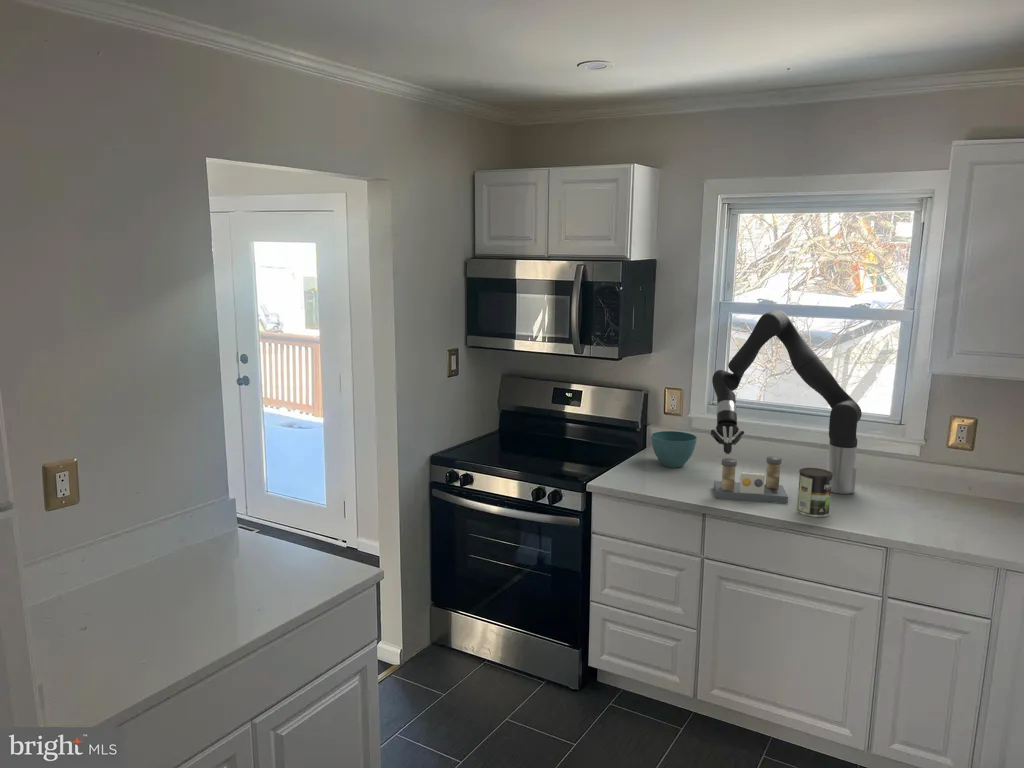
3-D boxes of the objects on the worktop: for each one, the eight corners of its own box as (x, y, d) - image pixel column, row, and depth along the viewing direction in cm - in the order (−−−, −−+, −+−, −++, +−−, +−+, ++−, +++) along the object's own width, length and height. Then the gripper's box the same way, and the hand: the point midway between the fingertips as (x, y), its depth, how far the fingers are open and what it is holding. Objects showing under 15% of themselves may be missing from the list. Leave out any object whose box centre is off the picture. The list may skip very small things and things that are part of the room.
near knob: (778, 485, 268) (780, 456, 266) (780, 489, 263) (782, 460, 261) (763, 483, 269) (765, 455, 268) (765, 488, 264) (767, 459, 262)
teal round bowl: (641, 461, 307) (642, 433, 305) (676, 456, 315) (678, 428, 312) (667, 473, 291) (669, 443, 289) (704, 468, 298) (706, 438, 296)
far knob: (734, 487, 265) (736, 458, 263) (735, 491, 260) (737, 462, 258) (719, 486, 266) (721, 457, 264) (720, 490, 261) (722, 461, 259)
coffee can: (832, 511, 249) (836, 471, 247) (824, 519, 241) (828, 478, 239) (801, 504, 255) (804, 465, 253) (792, 512, 247) (795, 472, 245)
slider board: (781, 492, 269) (783, 466, 267) (787, 503, 256) (789, 477, 255) (714, 487, 274) (715, 462, 272) (716, 498, 261) (717, 472, 260)
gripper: (709, 408, 286) (710, 447, 277) (745, 409, 284) (747, 448, 274) (708, 419, 292) (709, 457, 283) (743, 420, 290) (745, 458, 280)
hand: (727, 452), depth 278 cm, fingers closed
